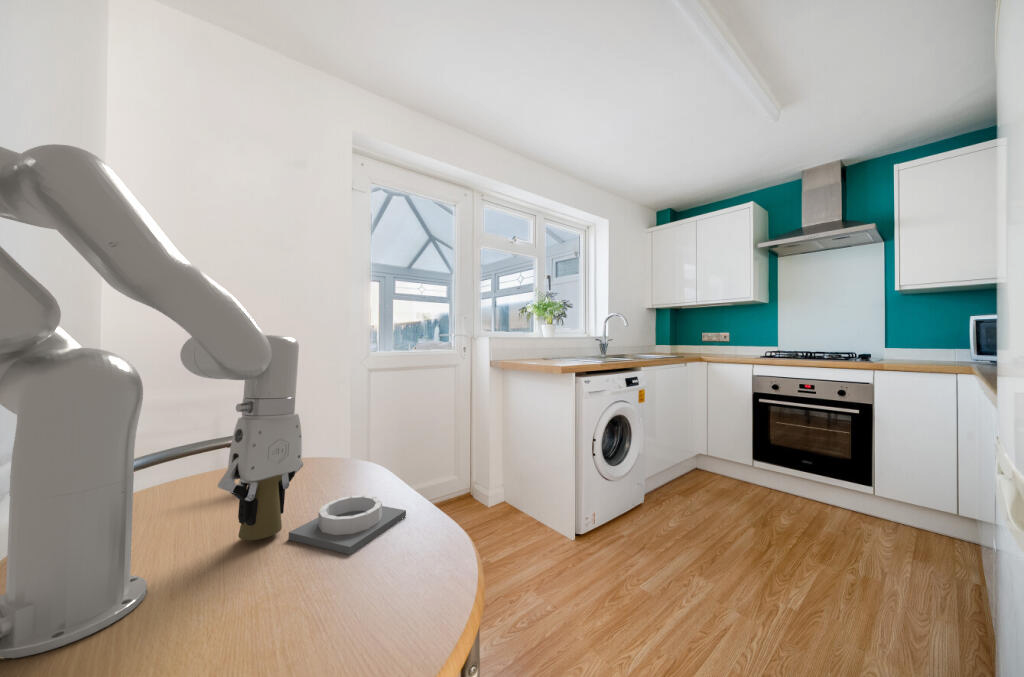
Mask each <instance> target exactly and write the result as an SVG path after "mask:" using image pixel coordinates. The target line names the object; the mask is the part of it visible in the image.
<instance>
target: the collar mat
mask: <svg viewBox="0 0 1024 677" xmlns="http://www.w3.org/2000/svg"><path fill="white" fill-rule="evenodd" d="M405 516H406V517H407V510H406V509H401V508H396V507H392V506H391V507H390V506H384V505H383V501H382V500H381V499H380V498H379V497H377V496H373V495H368V494H367V495H366V494H361V495H360V494H358V495H350V496H349V495H348V496H344V497H340V498H335V499H334V500H330V502H327V503H325V504H324V505H323V506H322V507H320V509H319V510H318V516H317V517H316V518H314V519H313V520H310V521H308V522H306V523H304V524H302V525H301V526H298V527H295V528H294V529H292V530H290V531H288V540H289V541H292V542H297V543H300V544H304V545H309V546H311V547H312V546H313V547H317V548H320V549H325V550H328V551H333V552H335V553H337V552H338V553H341V554H345V555H352V554H353V553H355V552H357V551H358V550H360V549H361V548H362V547H364V546H366V545H367V544H368V543H370V542H371V541H373V540H374V539H376V538H377V537H378V536H380V535H382V534H383V533H384V532H385V531H388V530H389V529H390V528H391V526H392V527H393V526H395V525H396V524H397V522H398V521H399V522H400V521H402V520H403V519H405V518H406V517H405ZM404 517H405V518H404ZM402 518H403V519H402ZM401 519H402V520H401ZM399 522H398V523H399ZM394 524H395V525H394Z"/></svg>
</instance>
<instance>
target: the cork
mask: <svg viewBox="0 0 1024 677" xmlns="http://www.w3.org/2000/svg"><path fill="white" fill-rule="evenodd" d="M281 478H282V475H278V476H274V477H272V478H269V479H265V480H262V481H258V482H257V483H258V485H257V489H256V493H255V497H254V499H257V500H258V505H257V514H256V523H255V524H254V525H252V526H249V525H247V524H246V523H245V522H244V524H241V523H240V527H239V531H238V539H241V540H245V541H254V540H261V539H262V540H263V539H265V538H269V537H271V536H274V535H276V534H278V533H279V532H281V531H282V529H283V525H282V514H281V510H280V498H279V485H278V482H279V481H280V480H281ZM247 484H248V483H247Z"/></svg>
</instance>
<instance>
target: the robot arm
mask: <svg viewBox="0 0 1024 677" xmlns="http://www.w3.org/2000/svg"><path fill="white" fill-rule="evenodd" d="M0 218H2V219H7V220H10V221H15V222H17V223H22V224H26V225H30V226H35V227H39V228H43V229H49V230H55V231H57V232H58V233H59V234H60V236H62V237H63V238H64V239H65V240H66V241H67V242H68V243H69V244H70V245H71V246H72V248H74V249H75V251H76V252H78V254H79V255H80V256H82V258H83V259H84V260H85V261H86V262H87V263H88V264H89V265H90V266H91V267H92V268H93V270H95V272H97V274H99V275H100V277H102V278H103V280H104V281H105V282H106V283H107V284H108V285H109V286H110V287H111V288H113V289H114V290H115V291H117V292H118V293H120V294H121V295H124V296H125V297H127V298H129V299H131V300H133V301H136V302H138V303H140V304H142V305H145V306H147V307H150V308H152V309H154V310H156V311H158V312H159V313H161V314H163V315H164V316H166V317H168V318H169V319H170V320H172V322H174V323H176V324H177V325H178V326H179V327H180V328H182V329H183V330H184V331H185V332H186V333H187V334H188V335H190V337H189V339H187V340H186V341H185V343H184V344H183V345H182V347H181V349H180V354H179V355H180V361H181V363H182V366H184V368H185V369H186V370H187V371H189V372H190V373H192V374H194V375H196V376H198V377H201V378H205V379H211V380H213V379H215V380H230V381H244V385H243V386H244V387H243V398H242V402H241V403H236V405H235V410H236V412H237V413H241V417H238V419H237V422H236V424H235V427H234V430H233V435H232V439H231V444H230V449H229V454H228V455H229V456H228V462H227V463H228V464H227V470H226V472H225V473H224V475H223V476H222V477H221V478H220V481H219V483H218V484H217V488H219V489H221V490H224V491H226V492H229V493H230V494H231V495H233V496H235V498H236V499H237V500H239V501H238V502H239V503H238V511H237V512H238V513H237V514H238V515H237V518H238V523H239V524H240V525H241V524H244V522H245V523H246V524H247V525H249V526H252V525H254V524H255V523H256V514H257V505H258V500H257V499H254V497H255V493H256V489H257V485H258V483H257V482H258V481H262V480H265V479H269V478H272V477H274V476H278V475H282V478H281V480H280V481H279V482H278V485H279V498H280V510H281V515H282V514H283V513H284V509H285V508H284V507H285V500H286V499H285V495H286V490H287V489H289V487H290V482H292V480H293V478H295V475H296V474H297V473H298V472H299V471H300V470H301V469H302V468H303V467H304V463H303V460H302V455H303V453H302V452H303V443H302V441H303V439H302V427H301V421H300V420H301V419H300V415H299V413H295V412H296V411H295V410H296V396H297V395H296V394H297V380H298V366H299V365H298V364H299V352H300V351H299V350H300V346H299V345H300V344H299V342H298V340H297V339H296V338H294V337H291V336H285V335H272V334H271V335H268V334H266V333H264V331H263V330H262V329H261V327H260V326H259V324H258V323H257V322H256V321H255V320H254V318H253V317H252V316H251V314H250V313H249V312H248V311H247V310H246V308H245V307H244V306H243V305H242V304H241V302H239V300H237V298H236V297H234V296H233V295H232V294H231V293H230V292H229V291H228V290H226V289H225V288H224V287H222V286H221V285H220V284H219V283H217V282H216V281H215V280H214V279H212V278H211V277H210V276H208V275H207V274H206V273H205V272H204V271H202V270H201V269H200V268H198V266H196V265H194V264H193V263H191V262H190V261H189V260H188V259H187V258H186V257H185V255H183V254H182V253H181V252H180V250H178V248H177V247H176V246H175V245H174V243H173V242H172V241H171V240H170V238H169V237H168V236H167V235H166V234H165V232H164V231H163V230H162V229H161V227H160V226H159V225H158V224H157V222H156V221H155V220H154V219H153V218H152V217H151V215H150V213H149V212H148V211H147V210H146V209H145V208H144V206H143V205H142V204H141V203H140V202H139V200H138V199H137V198H136V197H135V195H134V194H133V193H132V192H131V190H130V189H129V188H128V187H127V186H126V184H125V183H124V181H123V180H122V179H121V178H120V176H118V174H117V173H116V172H115V171H114V170H113V169H112V168H111V167H110V166H109V165H108V164H107V163H106V162H105V161H103V160H102V159H101V158H100V157H98V156H97V155H96V154H93V153H92V152H90V151H88V150H86V149H84V148H80V147H76V146H74V145H73V146H72V145H69V144H55V143H53V144H52V143H51V144H44V145H43V144H42V145H38V146H35V147H32V148H29V149H26V150H25V151H23V152H21V153H20V152H16V151H14V150H11V149H8V148H6V147H3V146H0ZM61 316H62V314H61V308H60V305H59V303H58V300H57V299H56V298H55V296H53V294H52V293H51V292H50V291H49V290H48V289H47V288H46V287H45V286H44V285H43V284H42V283H41V282H39V281H38V280H37V279H36V278H35V277H34V276H33V275H31V273H29V272H28V271H27V270H26V269H25V268H24V267H23V266H22V265H21V264H19V263H18V262H17V261H16V259H14V258H13V256H11V255H10V254H9V253H8V252H7V251H6V250H5V249H4V248H3V247H2V246H1V245H0V406H1V407H4V408H5V409H6V410H8V411H9V412H11V413H13V414H15V415H16V426H15V433H14V442H13V447H12V454H11V462H10V474H9V506H8V507H9V508H8V510H9V512H8V530H7V531H8V532H7V534H8V536H7V554H6V557H7V558H6V577H5V593H3V594H1V595H0V657H1V658H2V657H3V658H12V659H16V658H24V657H29V656H32V655H36V654H41V653H45V652H48V651H50V650H54V649H58V648H61V647H63V646H66V645H69V644H71V643H74V642H76V641H78V640H81V639H83V638H86V637H88V636H91V635H92V634H95V633H97V632H98V631H101V630H102V629H104V628H106V627H109V626H110V625H112V624H113V623H115V622H117V621H119V620H120V619H122V618H123V617H124V616H126V615H127V614H129V613H131V611H133V610H134V609H135V608H136V607H138V605H140V603H141V602H142V601H143V600H144V598H145V597H146V595H147V590H148V589H147V588H148V582H147V581H146V579H144V578H143V577H141V576H137V575H133V574H131V571H132V570H131V568H132V565H131V564H132V540H133V539H132V536H133V534H132V533H133V510H134V509H133V508H134V506H133V505H134V482H135V477H134V476H135V472H134V471H135V470H134V469H135V468H134V466H135V449H136V437H137V431H138V424H139V419H140V415H141V411H142V405H143V399H144V386H143V381H142V378H141V375H140V374H139V371H138V370H137V369H136V367H134V366H133V364H132V363H130V361H129V360H127V359H125V358H124V357H122V356H120V355H118V354H116V353H113V352H112V351H108V350H104V349H99V348H92V347H83V346H82V345H81V344H80V343H79V342H78V341H77V340H76V339H75V338H74V337H73V336H71V334H70V333H69V332H67V331H66V330H65V329H64V328H63V327H62V326H61V325H60V323H61ZM236 480H239V481H238V483H237V482H235V481H236ZM247 483H248V484H247Z"/></svg>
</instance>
